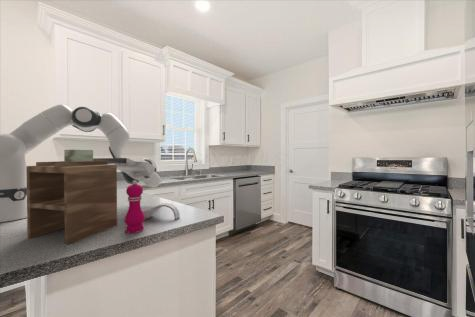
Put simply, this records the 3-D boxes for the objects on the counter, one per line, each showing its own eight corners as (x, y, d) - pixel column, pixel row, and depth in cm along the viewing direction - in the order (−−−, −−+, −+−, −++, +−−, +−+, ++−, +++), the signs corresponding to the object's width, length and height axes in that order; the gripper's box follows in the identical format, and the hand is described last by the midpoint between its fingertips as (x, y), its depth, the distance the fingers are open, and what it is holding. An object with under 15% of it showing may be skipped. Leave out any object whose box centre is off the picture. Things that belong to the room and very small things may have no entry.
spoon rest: (123, 221, 99) (123, 205, 98) (137, 214, 110) (137, 200, 110) (173, 222, 97) (173, 206, 97) (182, 215, 109) (182, 201, 108)
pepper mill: (125, 234, 81) (125, 182, 81) (124, 229, 88) (123, 180, 87) (146, 231, 85) (145, 180, 85) (143, 225, 91) (143, 178, 91)
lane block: (64, 165, 83) (64, 149, 83) (119, 162, 109) (119, 150, 108) (76, 165, 81) (76, 149, 81) (129, 163, 107) (129, 150, 107)
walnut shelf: (27, 237, 78) (26, 161, 77) (81, 221, 97) (80, 160, 97) (68, 244, 72) (67, 162, 72) (117, 225, 91) (116, 161, 91)
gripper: (127, 166, 123) (109, 153, 111) (157, 166, 117) (142, 154, 105) (122, 176, 120) (103, 164, 108) (154, 177, 114) (137, 165, 102)
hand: (123, 159), depth 107 cm, fingers closed on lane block, 2 cm apart
